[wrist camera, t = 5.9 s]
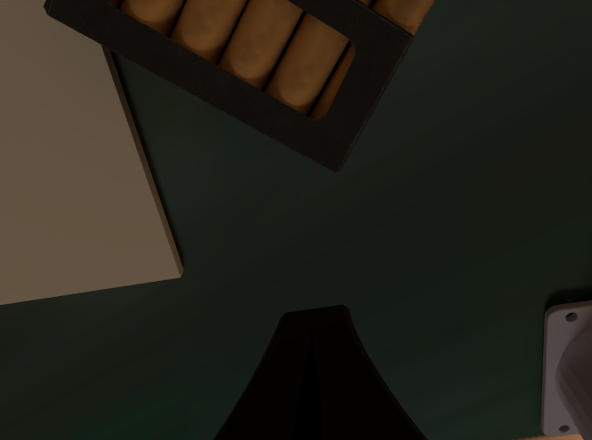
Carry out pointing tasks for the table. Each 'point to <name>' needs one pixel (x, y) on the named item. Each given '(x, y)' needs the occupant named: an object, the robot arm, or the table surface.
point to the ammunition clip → (264, 58)
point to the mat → (71, 168)
